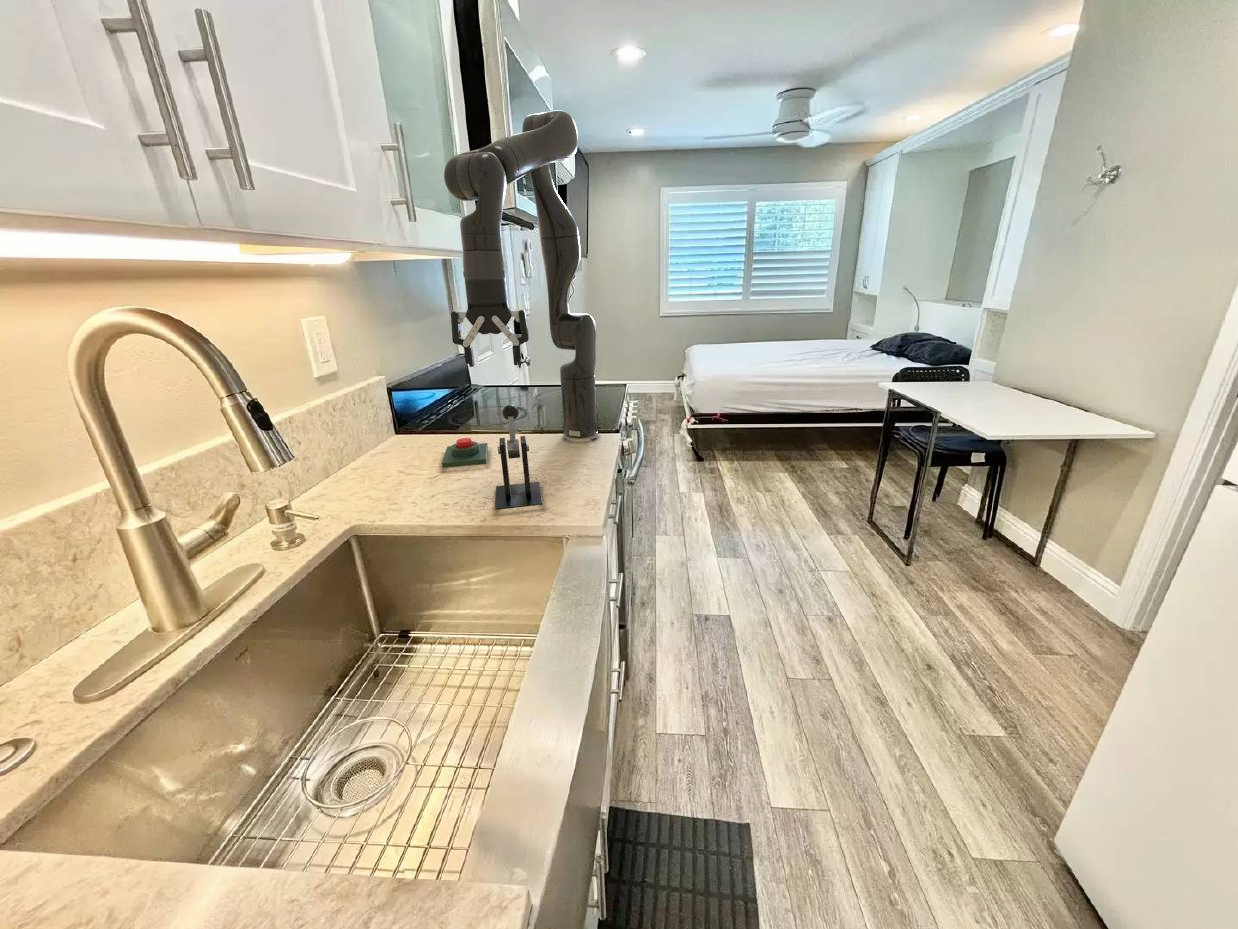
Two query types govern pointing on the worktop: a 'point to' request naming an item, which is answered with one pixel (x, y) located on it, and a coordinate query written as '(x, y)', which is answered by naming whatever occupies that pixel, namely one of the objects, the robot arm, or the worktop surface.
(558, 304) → the robot arm
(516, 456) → the lever
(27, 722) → the worktop surface
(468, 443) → the button
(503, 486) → the bracket
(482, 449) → the button box
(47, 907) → the worktop surface
